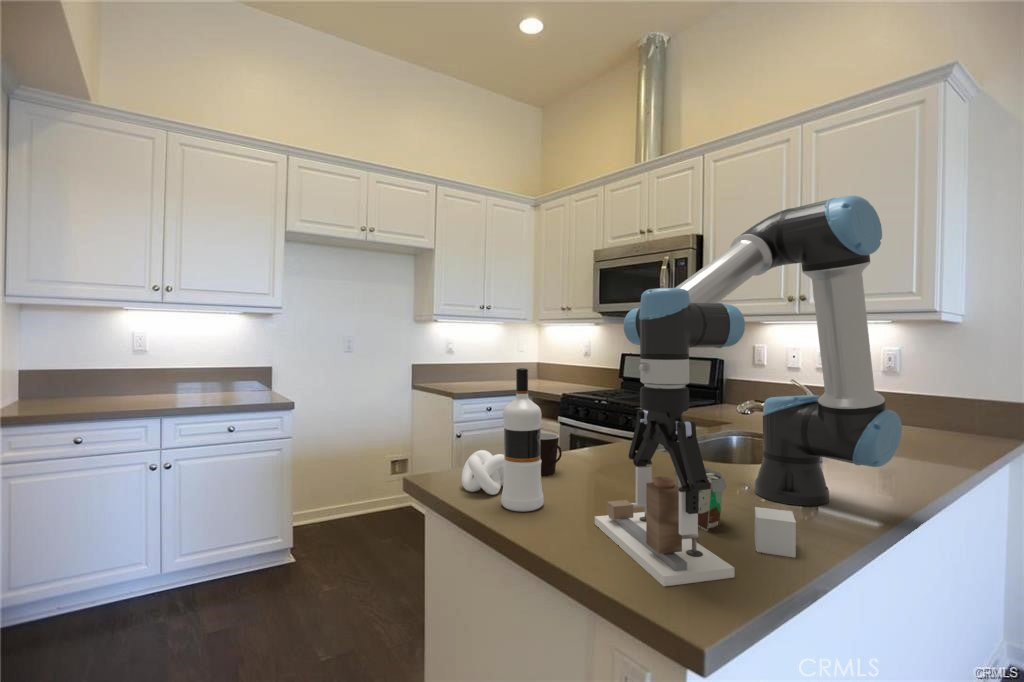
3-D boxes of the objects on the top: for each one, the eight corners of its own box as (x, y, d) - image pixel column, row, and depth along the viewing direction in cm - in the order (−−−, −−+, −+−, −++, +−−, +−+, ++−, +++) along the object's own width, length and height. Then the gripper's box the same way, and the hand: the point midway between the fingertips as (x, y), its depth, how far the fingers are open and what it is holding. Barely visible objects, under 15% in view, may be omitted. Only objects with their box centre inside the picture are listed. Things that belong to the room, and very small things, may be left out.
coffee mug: (524, 469, 143) (524, 433, 143) (555, 468, 144) (555, 432, 144) (531, 481, 132) (531, 442, 131) (564, 480, 133) (564, 441, 132)
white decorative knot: (499, 481, 132) (499, 446, 132) (520, 494, 121) (520, 455, 121) (457, 486, 127) (457, 450, 127) (475, 500, 116) (475, 461, 116)
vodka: (495, 501, 115) (495, 367, 115) (533, 497, 119) (533, 366, 118) (510, 515, 107) (509, 370, 106) (550, 509, 110) (550, 368, 110)
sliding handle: (689, 546, 86) (690, 473, 86) (704, 556, 83) (704, 480, 82) (646, 551, 85) (646, 476, 84) (658, 561, 81) (659, 483, 80)
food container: (740, 531, 98) (740, 478, 98) (713, 534, 96) (713, 481, 96) (699, 510, 110) (699, 463, 110) (674, 513, 108) (674, 465, 108)
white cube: (791, 544, 92) (792, 511, 92) (795, 558, 86) (796, 522, 86) (754, 539, 94) (754, 506, 94) (755, 552, 89) (756, 517, 89)
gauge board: (650, 518, 104) (650, 493, 104) (734, 577, 79) (734, 544, 79) (594, 524, 102) (594, 498, 102) (663, 586, 76) (663, 552, 76)
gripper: (609, 379, 94) (609, 496, 94) (687, 395, 70) (687, 551, 70) (647, 378, 96) (647, 492, 96) (735, 393, 71) (735, 546, 72)
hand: (664, 518), depth 83 cm, fingers open, 13 cm apart
